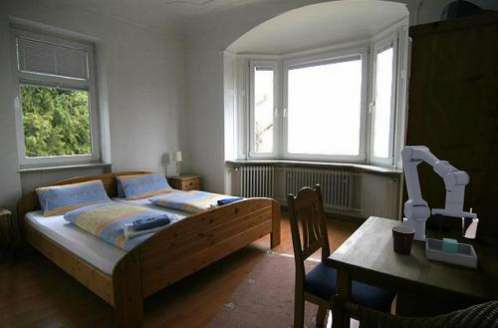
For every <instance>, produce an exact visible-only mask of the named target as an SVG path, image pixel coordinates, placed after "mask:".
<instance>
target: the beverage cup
mask: <svg viewBox="0 0 498 328" xmlns="http://www.w3.org/2000/svg"><path fill="white" fill-rule="evenodd" d="M472 210H473V208H472V207H471V208H470V211H469V213H473V212H472ZM461 219H462V225H463V224H464V218H462V217H461ZM478 223H479V219H478V218H476V220H474V219H473V222H472V224H471V225H470V226H469V228H468V229H467V231H466V234H465V236H463V237H465V238H467V239H475V238H476V234H477V229H478V228H477V226H478Z"/></svg>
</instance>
